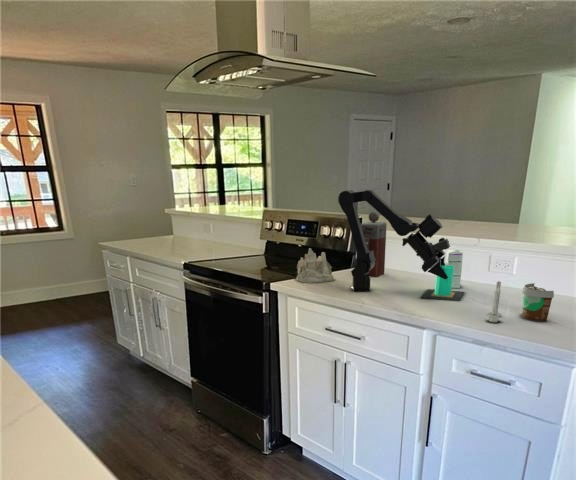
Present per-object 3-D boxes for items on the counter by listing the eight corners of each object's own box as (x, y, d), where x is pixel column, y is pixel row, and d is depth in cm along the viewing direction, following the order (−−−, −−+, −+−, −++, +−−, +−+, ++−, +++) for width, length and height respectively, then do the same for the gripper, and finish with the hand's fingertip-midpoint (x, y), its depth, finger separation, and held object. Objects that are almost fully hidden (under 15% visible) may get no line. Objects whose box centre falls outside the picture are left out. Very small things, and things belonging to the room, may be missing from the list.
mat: (421, 298, 192) (421, 296, 192) (427, 290, 204) (428, 289, 204) (459, 300, 187) (459, 299, 187) (464, 292, 198) (464, 291, 198)
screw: (482, 321, 162) (490, 318, 165) (496, 324, 158) (504, 321, 161) (487, 281, 157) (495, 278, 160) (502, 283, 153) (510, 280, 156)
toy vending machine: (356, 276, 234) (358, 212, 223) (367, 272, 242) (369, 210, 231) (374, 278, 229) (376, 213, 218) (384, 273, 237) (387, 211, 226)
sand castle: (336, 281, 224) (334, 246, 219) (299, 284, 222) (297, 249, 217) (328, 276, 239) (326, 244, 234) (294, 280, 237) (291, 247, 232)
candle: (446, 291, 198) (449, 260, 194) (453, 295, 193) (457, 263, 188) (432, 292, 197) (435, 261, 193) (438, 296, 192) (442, 264, 187)
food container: (511, 313, 170) (515, 283, 166) (528, 312, 170) (533, 282, 166) (530, 323, 158) (535, 292, 154) (549, 322, 159) (554, 291, 155)
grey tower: (460, 288, 206) (464, 251, 200) (445, 288, 207) (448, 251, 201) (458, 285, 211) (462, 249, 205) (444, 285, 212) (447, 249, 206)
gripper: (433, 234, 180) (462, 267, 180) (441, 228, 195) (468, 258, 195) (409, 255, 186) (437, 287, 186) (419, 248, 201) (445, 277, 202)
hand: (448, 277), depth 192 cm, fingers closed on candle, 5 cm apart
